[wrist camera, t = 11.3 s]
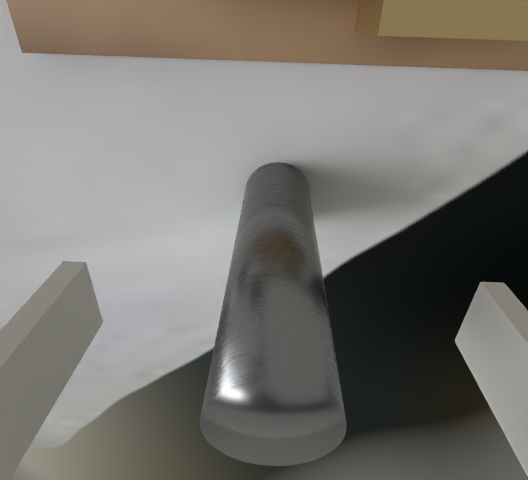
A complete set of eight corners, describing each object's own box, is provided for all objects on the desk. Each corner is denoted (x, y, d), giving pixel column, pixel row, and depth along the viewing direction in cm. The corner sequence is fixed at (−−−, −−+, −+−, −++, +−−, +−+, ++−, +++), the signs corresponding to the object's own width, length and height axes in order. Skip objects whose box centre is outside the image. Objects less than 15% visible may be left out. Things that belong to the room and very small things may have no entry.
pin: (245, 161, 18) (194, 378, 7) (311, 164, 18) (357, 387, 7) (245, 219, 20) (204, 461, 9) (305, 221, 20) (335, 468, 9)
